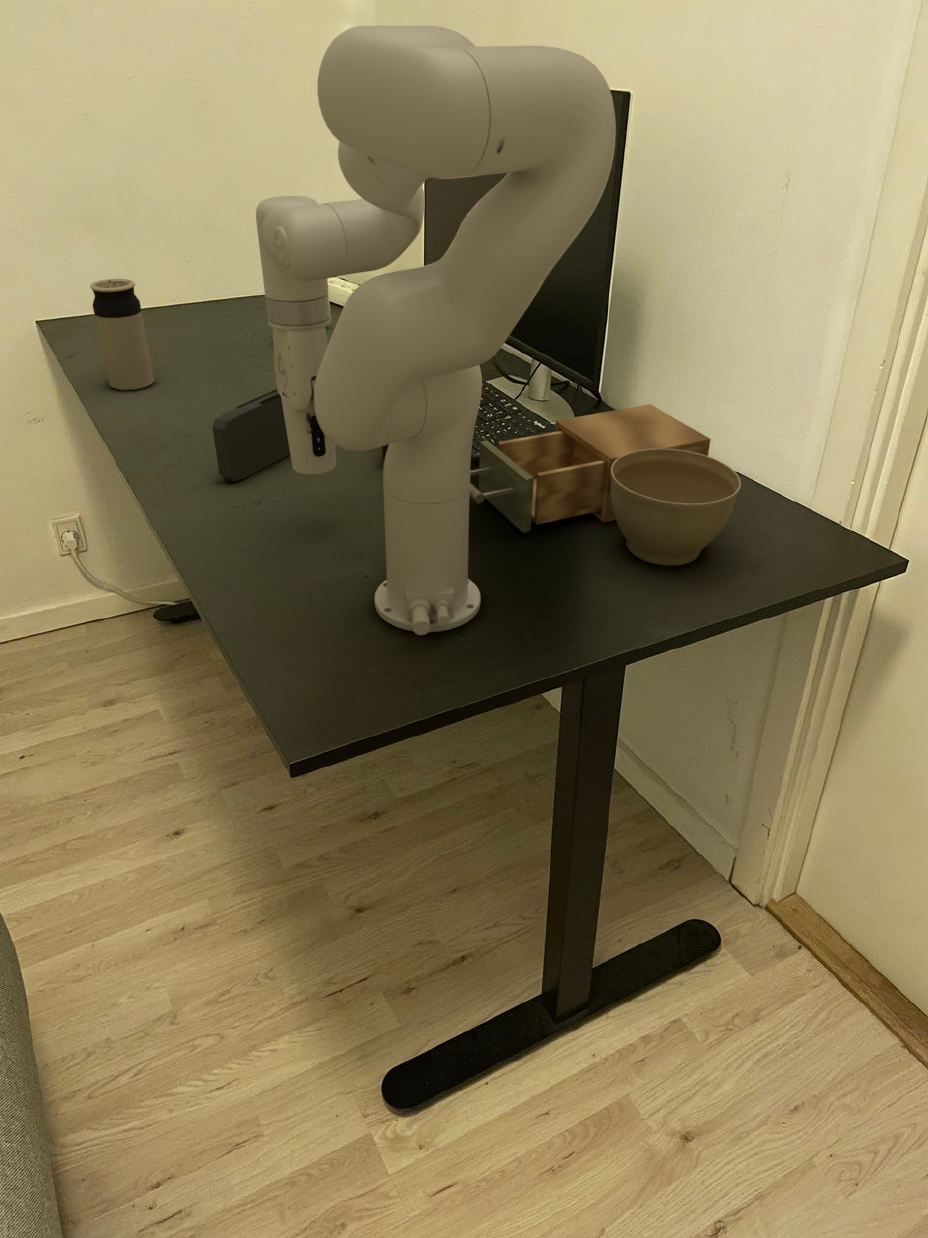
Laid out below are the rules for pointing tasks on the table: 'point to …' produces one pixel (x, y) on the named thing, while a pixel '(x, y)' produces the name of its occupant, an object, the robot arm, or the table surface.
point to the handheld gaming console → (251, 437)
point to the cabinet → (630, 438)
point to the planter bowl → (671, 502)
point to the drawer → (540, 478)
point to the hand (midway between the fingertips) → (312, 451)
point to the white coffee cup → (305, 442)
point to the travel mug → (122, 334)
